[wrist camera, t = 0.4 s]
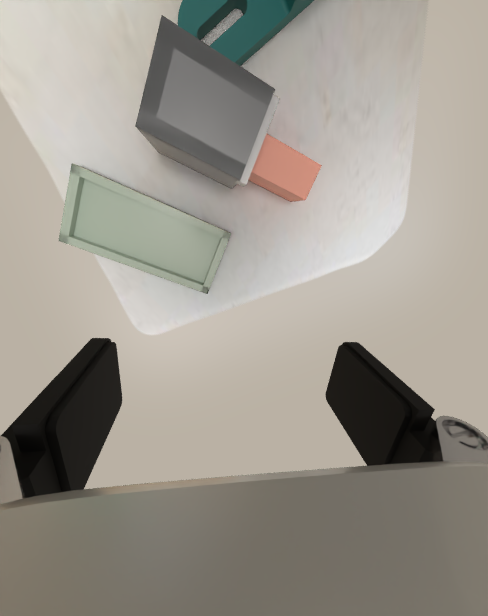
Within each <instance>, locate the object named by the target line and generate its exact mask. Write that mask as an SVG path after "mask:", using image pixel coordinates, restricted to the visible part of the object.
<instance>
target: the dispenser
mask: <svg viewBox="0 0 488 616" xmlns="http://www.w3.org/2000/svg"><path fill="white" fill-rule="evenodd" d="M274 91H275V89H274V88H273V87H271V86H269V85H268V84H266V83H265V82H263V81H262V80H260V79H259V78H257V77H256V76H254V75H253V74H251V73H250V72H248V71H247V70H245V69H243V68H242V67H240V66H239V65H237V64H236V63H234V62H233V61H231V60H230V59H228V58H227V57H225V56H224V55H222V54H221V53H219V52H218V51H216V50H214V49H213V48H211V47H210V46H208V45H207V44H205V43H204V42H202V41H201V40H199V39H198V38H196V37H195V36H193V35H192V34H190V33H188V32H187V31H185V30H184V29H182V28H181V27H179V26H178V25H176V24H175V23H173V22H172V21H170V20H169V19H167V18H166V17H164V16H162V17H161V21H160V25H159V29H158V33H157V38H156V42H155V46H154V50H153V54H152V59H151V63H150V67H149V71H148V76H147V80H146V84H145V88H144V92H143V97H142V101H141V105H140V109H139V113H138V118H137V122H136V127H137V128H138V130H139V131H140V132H141V133H142V134H143V135H144V136H145V138H146V139H147V140H148V141H149V142H150V143H151V144H152V146H153V147H154V148H155V149H156V150H157V151H158V152H159V153H161V154H163V155H165V156H167V157H169V158H171V159H173V160H175V161H177V162H179V163H181V164H183V165H185V166H187V167H189V168H191V169H193V170H195V171H197V172H199V173H201V174H203V175H205V176H207V177H209V178H211V179H213V180H215V181H217V182H219V183H221V184H223V185H225V186H227V187H229V188H231V189H232V188H233V187H234V186H235V185H236V184H239V185H241V186H243V187H244V186H245V185H247V182H248V179H249V177H250V174H251V172H252V169H253V167H254V164H255V162H256V159H257V156H258V154H259V151H260V149H261V146H262V144H263V141H264V139H265V136H266V133H267V131H268V128H269V126H270V123H271V121H272V118H273V116H274V113H275V110H276V108H277V105H278V103H279V100H280V98H278V97H277V96H275V95H274V94H273V93H274Z"/></svg>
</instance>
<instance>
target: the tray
mask: <svg viewBox="0 0 488 616" xmlns="http://www.w3.org/2000/svg"><path fill="white" fill-rule="evenodd" d="M230 236H231V233H230V232H228V231H225V230H223V229H221V228H219V227H216V226H214V225H212V224H210V223H207V222H205V221H203V220H201V219H198V218H196V217H194V216H192V215H189V214H187V213H185V212H182V211H180V210H178V209H176V208H173V207H171V206H169V205H167V204H164V203H162V202H160V201H158V200H155V199H153V198H151V197H149V196H146V195H144V194H142V193H140V192H137V191H135V190H133V189H131V188H128V187H126V186H124V185H122V184H119V183H117V182H115V181H113V180H110V179H108V178H106V177H103V176H101V175H99V174H97V173H94V172H92V171H90V170H88V169H85V168H83V167H81V166H78V165H75V164H72V165H71V171H70V177H69V183H68V189H67V194H66V200H65V206H64V212H63V218H62V224H61V229H60V235H59V241H61V242H64V243H66V244H69V245H72V246H75V247H78V248H80V249H83V250H86V251H89V252H91V253H94V254H97V255H100V256H103V257H105V258H108V259H111V260H114V261H117V262H119V263H122V264H125V265H128V266H131V267H133V268H136V269H139V270H142V271H144V272H147V273H150V274H153V275H156V276H158V277H161V278H164V279H167V280H170V281H172V282H175V283H178V284H181V285H184V286H186V287H189V288H192V289H195V290H198V291H200V292H203V293H206V294H208V291H209V289H210V286H211V284H212V281H213V278H214V276H215V273H216V271H217V268H218V266H219V263H220V261H221V258H222V256H223V253H224V251H225V248H226V246H227V243H228V241H229V238H230Z"/></svg>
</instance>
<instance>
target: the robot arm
mask: <svg viewBox="0 0 488 616" xmlns="http://www.w3.org/2000/svg"><path fill="white" fill-rule="evenodd" d="M326 400H327V402H328V404H329V405H330V407H331V408H332V410H333V412H334V413H335V415H336V416H337V418H338V420H339V421H340V423H341V424H342V426H343V428H344V429H345V431H346V432H347V434H348V436H349V437H350V439H351V440H352V442H353V444H354V445H355V447H356V448H357V450H358V452H359V453H360V455H361V456H362V458H363V460H364V461H365V463H366V464H367V466H358V467H344V468H330V469H317V470H304V471H293V472H279V473H267V474H255V475H254V474H253V475H241V476H229V477H228V476H227V477H215V478H204V479H192V480H180V481H168V482H156V483H144V484H133V485H123V486H113V487H103V488H93V489H84V487H85V485H86V483H87V480H88V478H89V476H90V474H91V472H92V469H93V467H94V465H95V463H96V460H97V458H98V456H99V454H100V452H101V449H102V447H103V445H104V443H105V441H106V438H107V436H108V434H109V432H110V430H111V427H112V425H113V423H114V421H115V418H116V416H117V414H118V412H119V409H120V407H121V404H122V392H121V383H120V374H119V366H118V357H117V348H116V344H115V342H111V340H110V339H109V338H92V339H91V340H90V341H89V342H88V343H87V344H86V345H85V346H84V347H83V348H82V349H81V351H80V352H79V353H78V354H77V355H76V356H75V357H74V358H73V359H72V360H71V361H70V362H69V363H68V364H67V366H66V367H65V368H64V369H63V370H62V371H61V372H60V373H59V374H58V375H57V376H56V377H55V378H54V379H53V380H52V381H51V382H50V383H49V385H48V386H47V387H46V388H45V389H44V390H43V391H42V392H41V393H40V394H39V395H38V396H37V398H36V399H35V400H34V401H33V402H32V403H31V404H30V405H29V406H28V407H27V408H26V409H25V410H24V411H23V413H22V414H21V415H20V416H19V417H18V418H17V419H16V420H15V421H14V422H13V423H12V424H11V425H10V427H9V428H8V429H7V430H6V431H5V432H4V433H3V434H2V435H1V436H0V616H488V437H487V436H486V435H485V434H484V433H482V432H481V431H480V430H478V429H477V428H475V427H474V426H472V425H470V424H468V423H467V422H464V421H462V420H460V419H457V418H454V417H449V416H440V417H439V418H437V419H436V421H434V420H433V419H432V418H431V416H432V414H433V412H434V410H435V409H433V408H432V407H431V406H430V405H429V404H428V403H427V402H425V401H424V400H423V399H422V398H421V397H420V396H418V394H416V393H415V392H414V391H413V390H412V389H411V388H409V387H408V386H407V385H406V384H405V383H404V382H403V381H401V380H400V379H399V378H398V377H397V376H396V375H395V374H393V373H392V372H391V371H390V370H389V369H388V368H387V367H385V366H384V365H383V364H382V363H381V362H380V361H379V360H377V359H376V358H375V357H374V356H373V355H372V354H370V353H369V352H368V351H367V350H366V349H365V348H364V347H363V346H361V345H360V344H359V343H357V342H344V343H343V344H342V345H341V346H339V348H338V351H337V354H336V358H335V362H334V365H333V369H332V373H331V376H330V380H329V383H328V387H327V391H326ZM83 489H84V490H83Z"/></svg>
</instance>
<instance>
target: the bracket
mask: <svg viewBox="0 0 488 616" xmlns="http://www.w3.org/2000/svg"><path fill="white" fill-rule="evenodd" d="M313 1H314V0H183V1H182V3H181V6H180V9H179V14H178V26H179V27H181V28H182V29H184V30H185V31H187V32H188V33H190V34H192V35H193V36H195V37H196V38H198V39H199V40H201V39H202V38H203V37H204V36H205V35H206V34H207V33H209V32H210V31H211V30H212V29H213V28H214V27H215V26H216V25H217V24H218V23H219V22H220V21H221V20H223V19H224V18H225V17H226V16H227V15H228V14H229V13H230V12H231V11H232V10H233V9H240V10H241V11H242V12H243V14H244V15H243V16H242V17H241V18H240V19H238V20H237V21H236V22H235V23H234V24H233V25H232V26H231V27H230V28H229V29H228V30H227V31H225V32H224V33H223V34H222V35H221V36H220V37H219V38H218V39H217V40H216V41H215V42H213V43H212V44H211V45H210V47H211V48H213V49H214V50H216V51H218V52H219V53H221V54H222V55H224V56H225V57H227V58H228V59H230V60H231V61H233V62H234V63H236V64H237V65H239V66H241V65H242V64H243V63H244V62H245V61H246V60H248V59H249V58H250V57H251V56H252V55H253V54H254V53H255V52H257V51H258V50H259V49H260V48H261V47H262V46H263V45H264V44H266V43H267V42H268V41H269V40H270V39H271V38H272V37H273V36H275V35H276V34H277V33H278V32H279V31H280V30H281V29H282V28H284V27H285V26H286V25H287V24H288V23H289V22H290V21H292V20H293V19H294V18H295V17H296V16H297V15H298V14H299V13H301V12H302V11H303V10H304V9H305V8H306V7H307V6H308V5H310V4H311V3H312V2H313Z"/></svg>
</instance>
